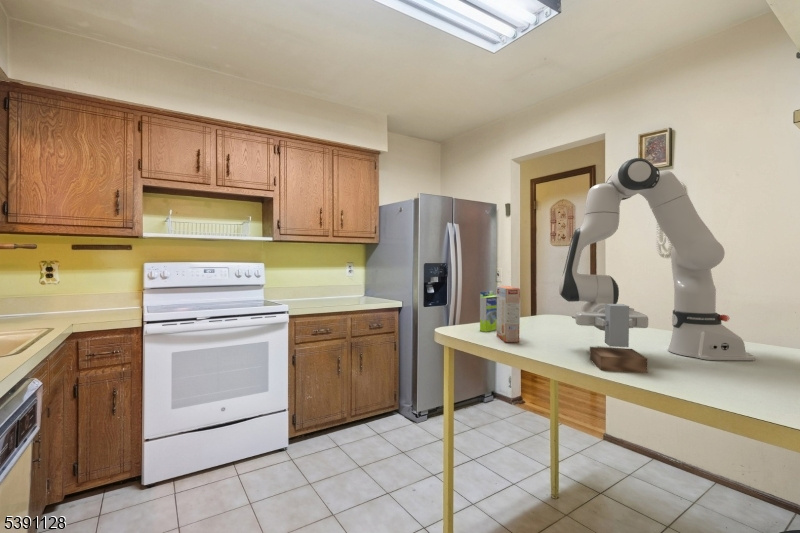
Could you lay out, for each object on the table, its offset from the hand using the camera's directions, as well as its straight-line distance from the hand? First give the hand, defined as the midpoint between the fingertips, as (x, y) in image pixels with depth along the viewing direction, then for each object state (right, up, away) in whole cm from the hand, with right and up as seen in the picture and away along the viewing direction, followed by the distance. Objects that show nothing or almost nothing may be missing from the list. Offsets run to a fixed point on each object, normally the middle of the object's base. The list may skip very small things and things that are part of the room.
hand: (617, 323), depth 113 cm
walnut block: (0, -13, +1) cm, 13 cm away
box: (-24, -12, +58) cm, 64 cm away
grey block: (0, -6, +1) cm, 7 cm away
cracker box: (-22, -12, +39) cm, 46 cm away
